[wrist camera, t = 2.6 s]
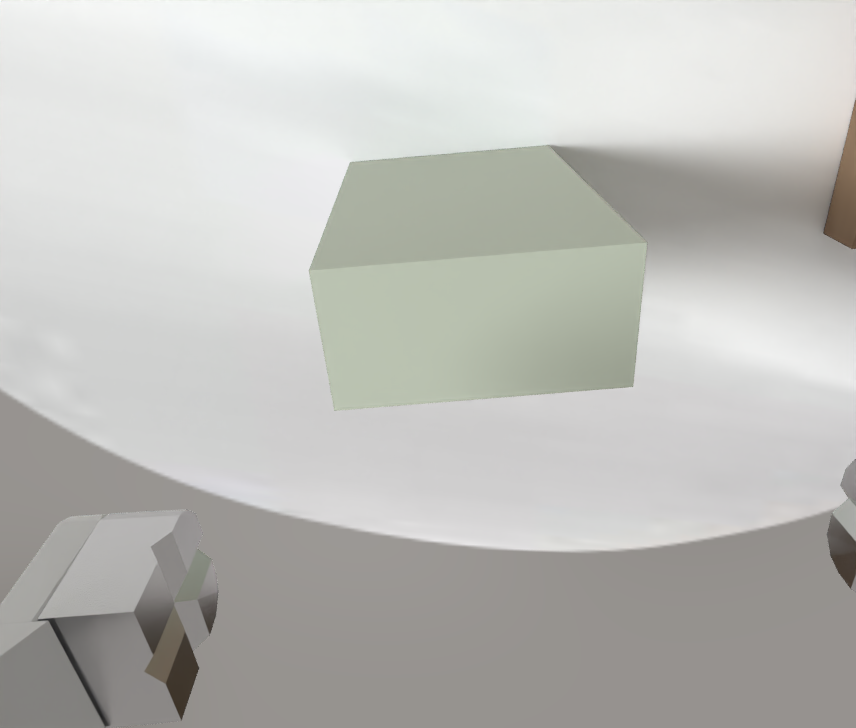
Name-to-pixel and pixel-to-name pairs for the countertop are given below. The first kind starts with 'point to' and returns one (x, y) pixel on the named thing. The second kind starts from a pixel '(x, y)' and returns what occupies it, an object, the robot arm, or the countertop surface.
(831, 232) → the book rack
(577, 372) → the pale green box
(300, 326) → the countertop surface
